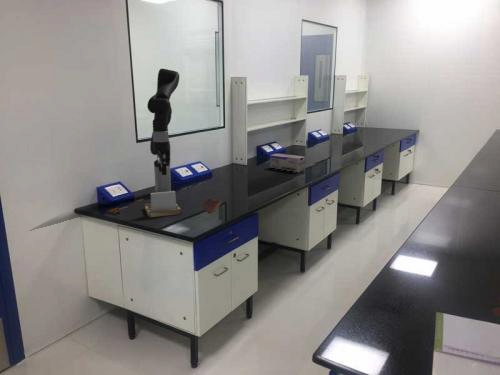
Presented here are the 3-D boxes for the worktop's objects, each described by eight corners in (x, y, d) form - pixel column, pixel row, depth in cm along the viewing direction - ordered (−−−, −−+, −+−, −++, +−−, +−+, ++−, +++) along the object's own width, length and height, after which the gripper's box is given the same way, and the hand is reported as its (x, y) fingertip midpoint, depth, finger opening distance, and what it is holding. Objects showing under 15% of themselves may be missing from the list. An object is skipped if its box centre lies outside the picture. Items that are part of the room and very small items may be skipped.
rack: (145, 211, 222) (144, 204, 221) (175, 208, 228) (175, 201, 227) (149, 220, 208) (148, 212, 207) (181, 216, 214) (181, 209, 213)
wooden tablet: (213, 212, 218) (194, 209, 219) (212, 216, 218) (193, 213, 219) (223, 198, 243) (206, 196, 244) (223, 202, 244) (206, 199, 245)
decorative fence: (105, 213, 221) (119, 216, 216) (104, 210, 220) (119, 212, 216) (138, 201, 242) (152, 203, 238) (138, 198, 242) (151, 200, 237)
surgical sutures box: (269, 168, 329) (270, 155, 326) (277, 166, 337) (277, 153, 334) (297, 173, 314) (297, 158, 311) (304, 170, 322) (305, 156, 320)
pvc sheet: (151, 214, 213) (150, 193, 210) (175, 211, 217) (174, 190, 214) (152, 215, 211) (151, 194, 208) (176, 212, 215) (175, 191, 213)
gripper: (171, 141, 200) (173, 175, 204) (166, 138, 213) (167, 169, 217) (155, 142, 197) (157, 176, 201) (150, 138, 210) (152, 171, 214)
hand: (162, 173), depth 209 cm, fingers open, 8 cm apart
